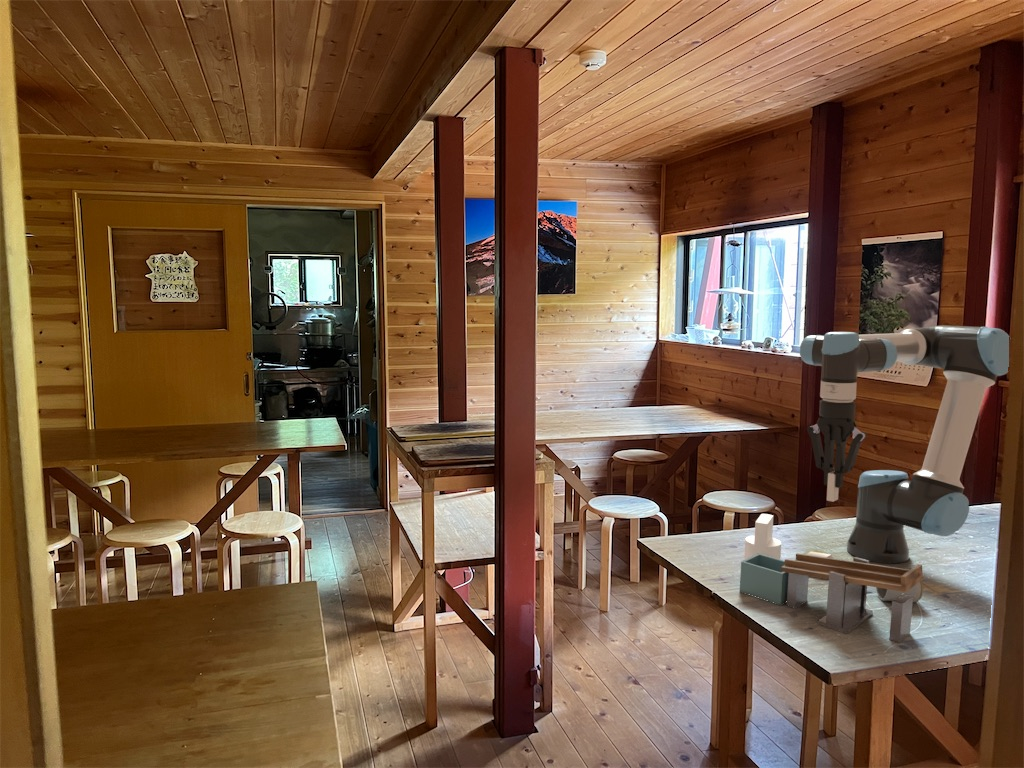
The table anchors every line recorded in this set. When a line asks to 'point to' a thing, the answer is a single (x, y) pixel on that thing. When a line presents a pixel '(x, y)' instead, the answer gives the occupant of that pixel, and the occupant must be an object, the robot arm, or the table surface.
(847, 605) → the support blocks
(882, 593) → the ceramic mug
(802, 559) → the wooden ramp track
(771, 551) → the cylinder with rectangular tab
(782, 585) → the open box
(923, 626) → the table surface
